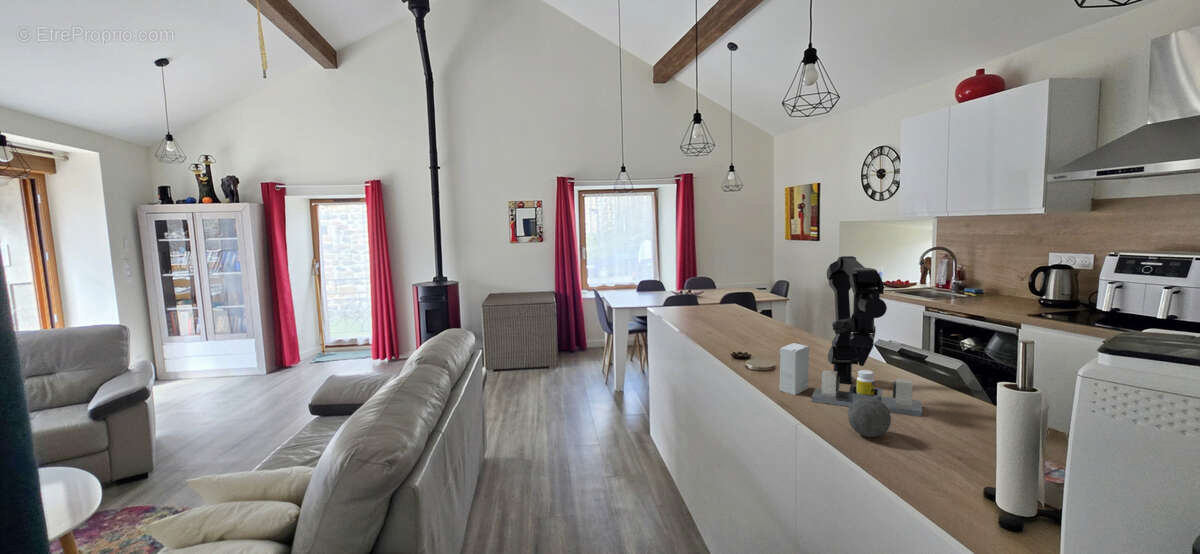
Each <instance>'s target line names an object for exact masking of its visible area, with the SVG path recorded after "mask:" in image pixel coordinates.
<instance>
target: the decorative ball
mask: <svg viewBox="0 0 1200 554" xmlns="http://www.w3.org/2000/svg"><path fill="white" fill-rule="evenodd" d="M847 419H848V424H849V425H850V427H851V428H852V429H853V430H854V431H855V432H856V433H858V434H859V435H861V436H863V437H867V438H876V437H880V436H882V435H884V434H886V433H887V431H888V430H889V429H890V426H891V424H892V416H891V412H889V410H888V408H887V407H886V406H885V405H884V404H883V403H882V402H880V401H879V400H877V399H874V398H869V397H865V398H860V399H858V400H856V401H854V402H853V403H852V404H851V406H850V407H848V411H847Z"/></svg>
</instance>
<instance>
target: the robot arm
mask: <svg viewBox="0 0 1200 554" xmlns="http://www.w3.org/2000/svg"><path fill="white" fill-rule="evenodd" d="M863 265H864V264H862V263H860V262H859V260H857V258H856V256H852V255H847V256H846V255H844V256H843V255H841V256H838V258H837V260H836V261H833V262H832V263H831V264H829V266H828V268H827V270H826V279H827V280H828V285H829V287H830V288H831V290H832V291H833V292H834V293H833V294H834V307H835V308H834V309H835V310H834V311H835V321H833V322H832V323H831V325H832V330H833V331H834V333H835V336H834V338H833V339H832V341H831V346H830V348H829V351H828V353H827V360H828V362H829V363H830V365H833V370H832V371H837V375H840V383H845V384H853V382H854V381H853V380H854V377H853V376H852V375H853V372H852V371H853V370H852V369H853V365H859V366H860V367H864V366H865V364H866V362H867V360H868V357H869V356H870V354H871V351H872V350H873V348H874V343H875V336H876V331H877V330H876V325H875V319H879V318H881V317H882V318H883V316H884V315H885V314H886V312H887V310H888V307H887V304H886V302H885V300H883V299H881V298H880V295H884V290H885V286H884V283H883V280H882V277H881V274H880V273H879V272H878V269H876V268H871V267H865V266H863ZM850 290H852V293H853V302H852V303H853V307H852V314H851V306H850V303H851V302H850Z"/></svg>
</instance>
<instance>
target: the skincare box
mask: <svg viewBox="0 0 1200 554" xmlns="http://www.w3.org/2000/svg"><path fill="white" fill-rule="evenodd" d="M779 354H780V355H779V356H780V357H779V360H780V361H779V391H780V392H782V393H787V394H791V395H794V396H796V395H798V394H800V393H802V392H804V391H806V390H808V389H809V364H810V363H809V362H810V357H809V356H810V346H808V345H805V344H799V343H795V342H793V343H789V344H787V345H785V346H782V347H780V351H779Z"/></svg>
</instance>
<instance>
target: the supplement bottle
mask: <svg viewBox="0 0 1200 554" xmlns="http://www.w3.org/2000/svg"><path fill="white" fill-rule="evenodd" d="M856 386H857V392H856V393H857V394H865V395H874V388H875V379H874V372H873V371H871V370H867V369H860V370H859V371H857V377H856Z"/></svg>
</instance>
